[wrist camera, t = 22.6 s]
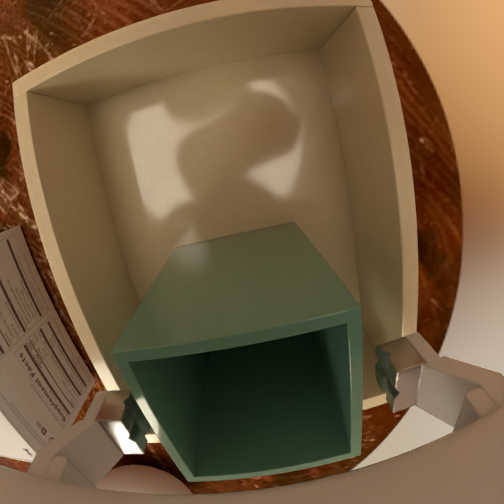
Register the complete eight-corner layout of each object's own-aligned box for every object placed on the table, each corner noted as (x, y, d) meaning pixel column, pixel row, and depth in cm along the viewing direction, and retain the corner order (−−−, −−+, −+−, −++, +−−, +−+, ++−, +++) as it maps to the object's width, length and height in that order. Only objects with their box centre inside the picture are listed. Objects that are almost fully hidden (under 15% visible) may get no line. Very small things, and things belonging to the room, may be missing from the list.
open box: (80, 100, 15) (11, 82, 8) (325, 41, 15) (368, -10, 8) (161, 371, 20) (140, 443, 14) (368, 330, 20) (410, 394, 14)
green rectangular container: (198, 279, 21) (119, 160, 11) (294, 258, 21) (292, 118, 11) (224, 455, 16) (134, 515, 5) (335, 435, 16) (399, 482, 5)
